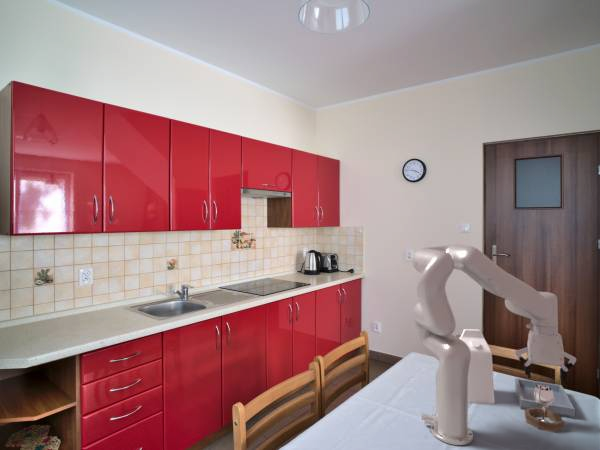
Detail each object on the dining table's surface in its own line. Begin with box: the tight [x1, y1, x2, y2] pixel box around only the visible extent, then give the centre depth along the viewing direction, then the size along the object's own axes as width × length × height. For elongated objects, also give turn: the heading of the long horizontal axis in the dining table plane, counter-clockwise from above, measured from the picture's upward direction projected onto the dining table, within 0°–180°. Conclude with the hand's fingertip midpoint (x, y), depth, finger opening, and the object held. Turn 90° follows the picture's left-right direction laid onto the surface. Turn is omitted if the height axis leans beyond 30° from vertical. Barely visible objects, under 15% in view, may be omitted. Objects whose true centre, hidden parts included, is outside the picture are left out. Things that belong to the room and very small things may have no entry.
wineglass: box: [534, 385, 554, 422], centre depth 124 cm, size 6×6×12 cm
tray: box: [514, 377, 575, 420], centre depth 138 cm, size 16×20×4 cm
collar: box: [524, 407, 565, 433], centre depth 124 cm, size 10×10×2 cm
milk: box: [458, 328, 495, 405], centre depth 143 cm, size 12×12×26 cm
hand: (545, 379), depth 124 cm, fingers open, 9 cm apart
